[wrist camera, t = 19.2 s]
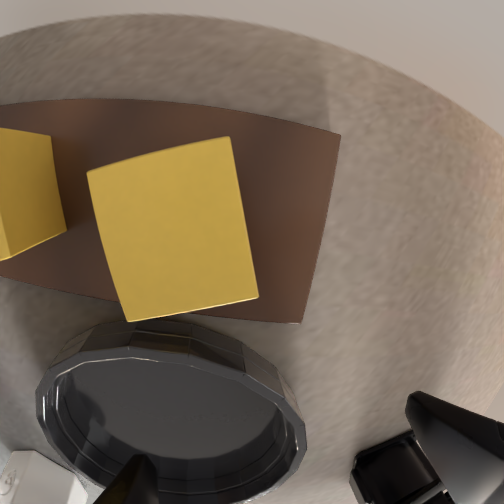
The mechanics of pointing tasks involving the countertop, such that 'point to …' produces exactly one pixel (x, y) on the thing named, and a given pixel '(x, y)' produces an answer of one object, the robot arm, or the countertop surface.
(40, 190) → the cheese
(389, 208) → the countertop surface
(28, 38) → the countertop surface
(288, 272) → the board
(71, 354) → the pan
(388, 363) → the countertop surface
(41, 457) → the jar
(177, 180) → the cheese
